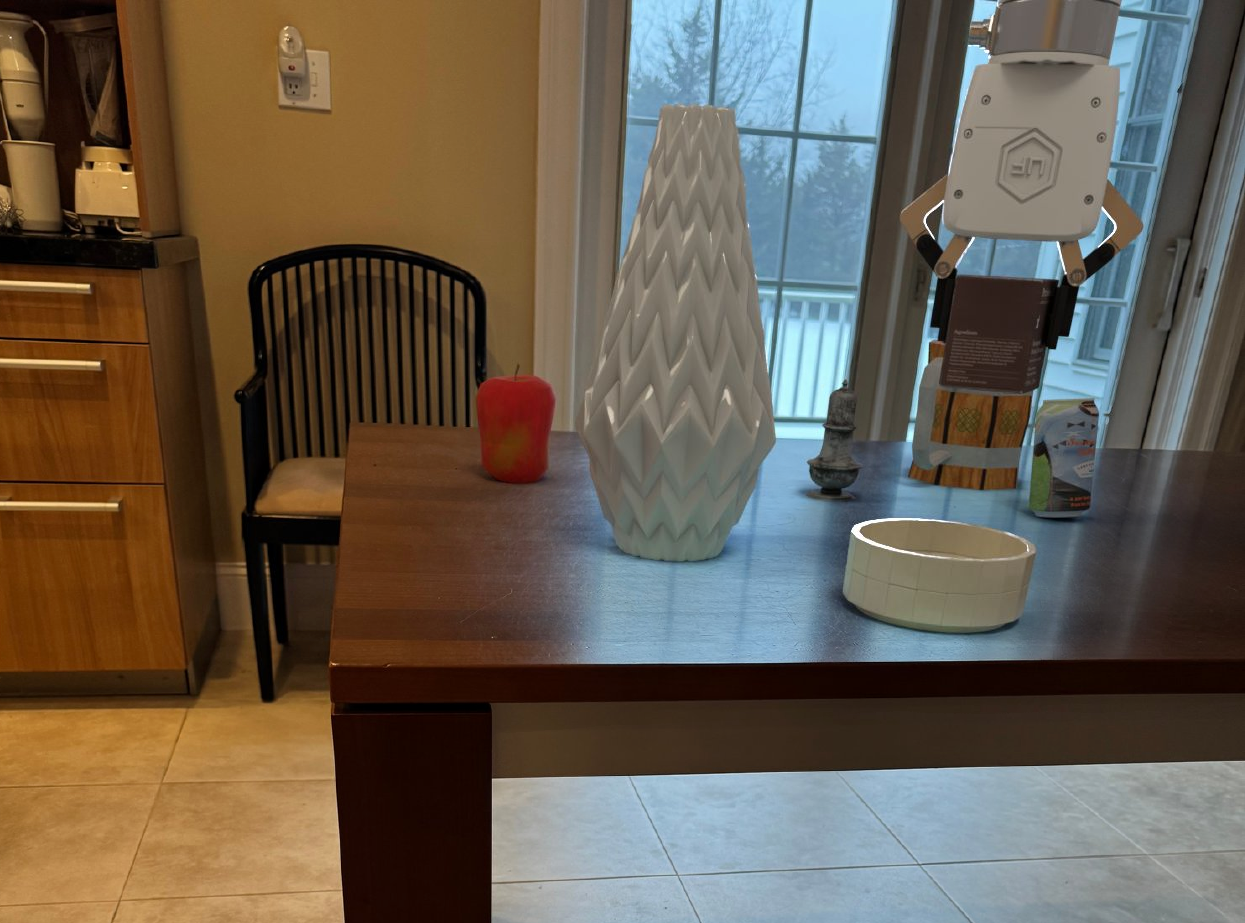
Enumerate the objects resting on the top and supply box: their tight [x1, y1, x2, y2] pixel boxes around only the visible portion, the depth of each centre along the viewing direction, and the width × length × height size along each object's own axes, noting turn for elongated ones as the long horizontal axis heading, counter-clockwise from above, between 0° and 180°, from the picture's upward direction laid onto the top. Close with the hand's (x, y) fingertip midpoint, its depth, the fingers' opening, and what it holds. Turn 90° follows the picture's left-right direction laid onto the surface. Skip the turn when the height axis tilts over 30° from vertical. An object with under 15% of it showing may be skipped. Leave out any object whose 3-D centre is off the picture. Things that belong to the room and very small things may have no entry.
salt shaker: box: [805, 378, 863, 502], centre depth 124 cm, size 6×6×12 cm
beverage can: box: [1028, 397, 1100, 518], centre depth 120 cm, size 6×7×12 cm
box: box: [939, 273, 1060, 394], centre depth 83 cm, size 6×6×7 cm
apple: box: [474, 363, 557, 484], centre depth 124 cm, size 9×8×12 cm
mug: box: [907, 339, 1034, 491], centre depth 135 cm, size 20×14×15 cm
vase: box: [574, 103, 777, 563], centre depth 94 cm, size 17×17×33 cm
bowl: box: [842, 517, 1037, 634], centre depth 87 cm, size 13×13×6 cm
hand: (996, 341), depth 83 cm, fingers closed on box, 6 cm apart
